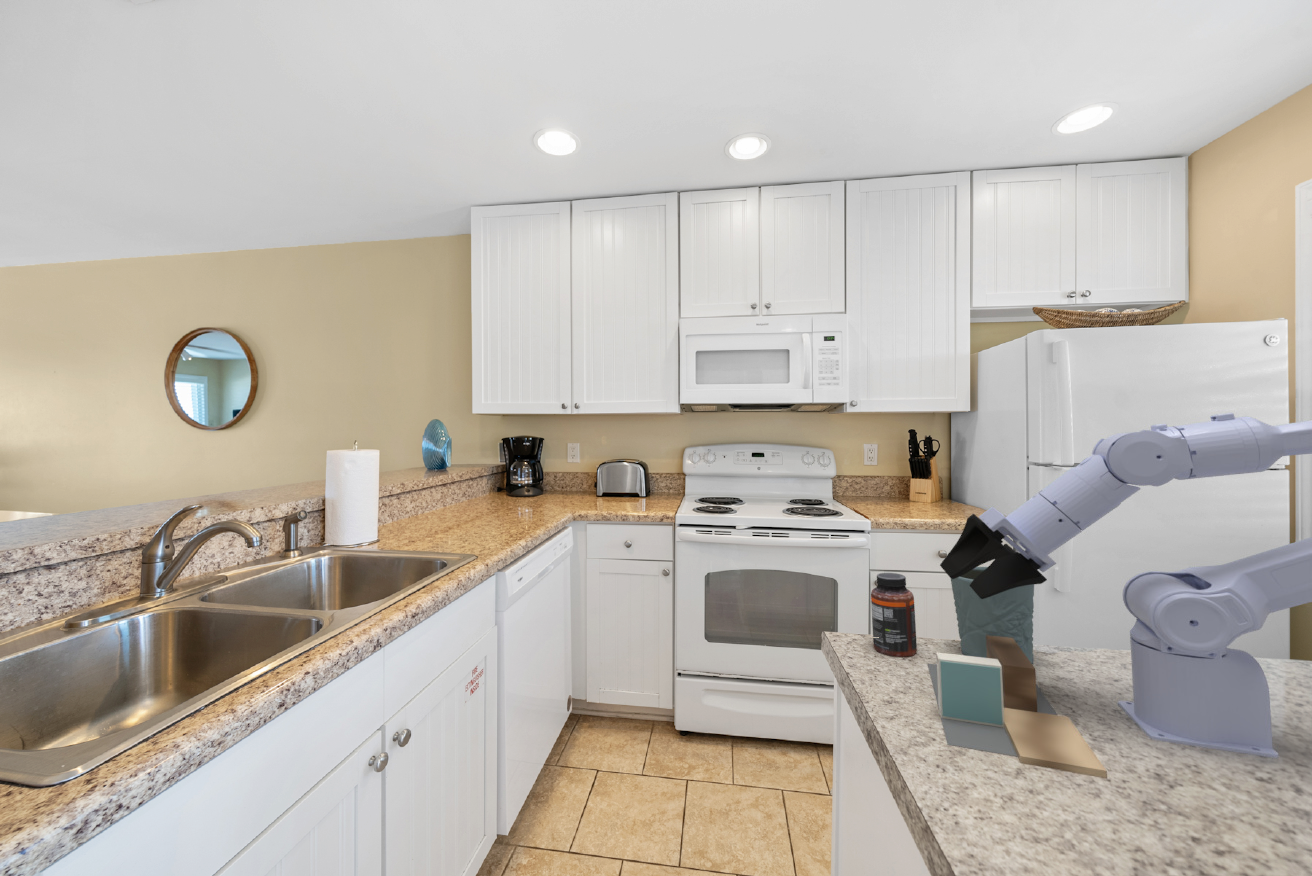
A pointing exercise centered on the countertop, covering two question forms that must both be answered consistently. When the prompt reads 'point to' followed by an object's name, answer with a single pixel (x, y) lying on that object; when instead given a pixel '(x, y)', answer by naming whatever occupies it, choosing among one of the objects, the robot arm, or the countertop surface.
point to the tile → (970, 689)
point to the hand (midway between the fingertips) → (961, 582)
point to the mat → (982, 727)
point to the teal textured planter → (992, 616)
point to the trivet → (1050, 742)
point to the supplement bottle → (893, 616)
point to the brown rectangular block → (1014, 673)
